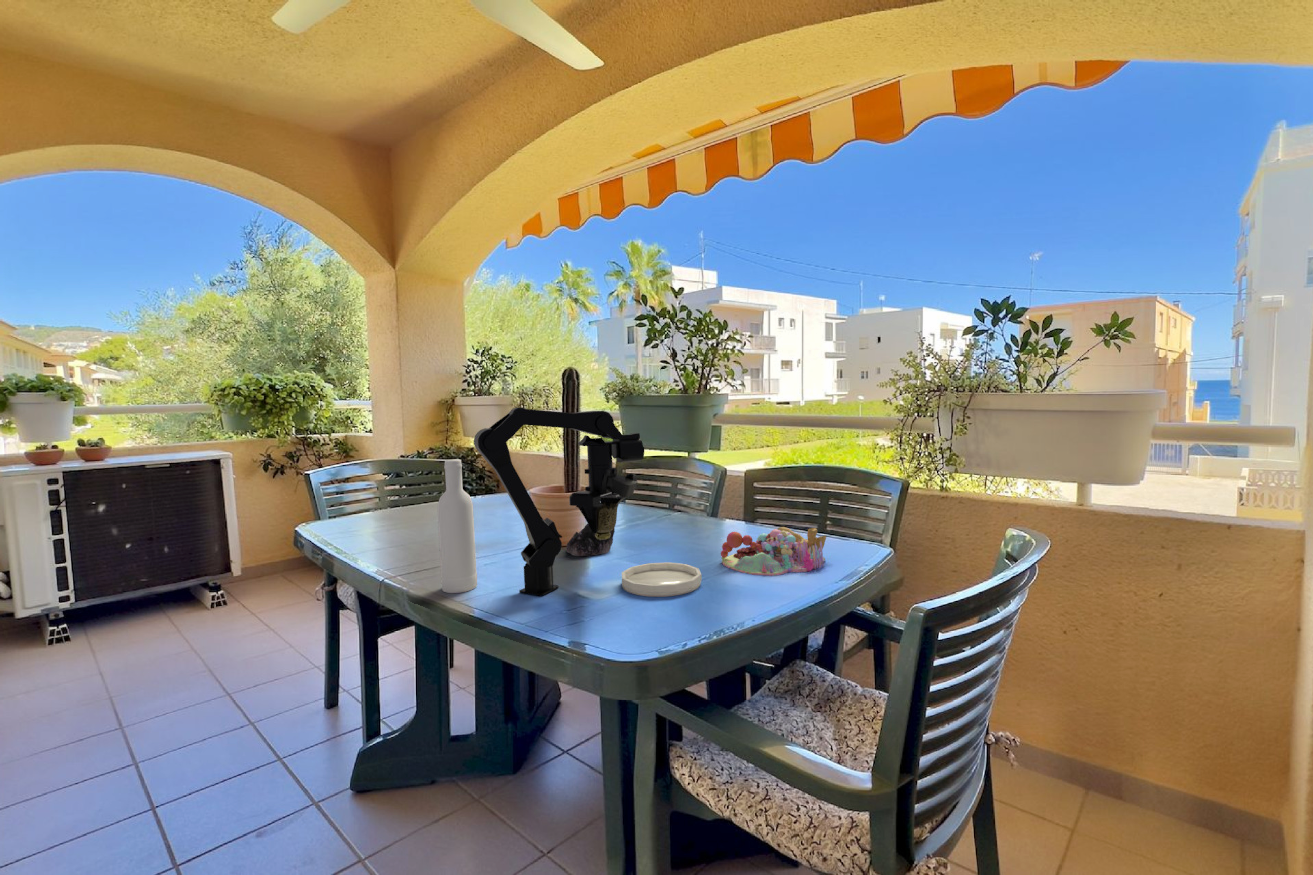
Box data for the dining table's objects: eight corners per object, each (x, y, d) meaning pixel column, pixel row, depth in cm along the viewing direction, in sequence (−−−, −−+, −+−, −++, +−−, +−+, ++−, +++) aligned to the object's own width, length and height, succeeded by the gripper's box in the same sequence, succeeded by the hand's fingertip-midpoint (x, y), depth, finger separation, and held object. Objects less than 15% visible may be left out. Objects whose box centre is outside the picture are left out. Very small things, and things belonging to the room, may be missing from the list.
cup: (624, 535, 144) (623, 502, 144) (609, 543, 138) (608, 508, 137) (597, 533, 147) (595, 501, 147) (581, 540, 141) (579, 506, 140)
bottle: (435, 589, 140) (428, 460, 138) (466, 580, 146) (459, 457, 144) (452, 595, 135) (445, 462, 133) (484, 587, 141) (477, 459, 139)
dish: (681, 600, 126) (681, 589, 126) (607, 591, 134) (607, 580, 134) (712, 577, 143) (711, 566, 142) (644, 569, 150) (644, 559, 150)
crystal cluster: (556, 557, 168) (555, 523, 167) (581, 542, 181) (580, 509, 179) (598, 565, 163) (598, 529, 161) (621, 548, 175) (621, 515, 174)
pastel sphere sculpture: (764, 547, 171) (763, 514, 170) (841, 560, 154) (841, 524, 154) (708, 566, 153) (707, 530, 152) (788, 584, 136) (787, 543, 136)
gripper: (610, 469, 129) (612, 541, 130) (648, 460, 146) (650, 524, 147) (566, 468, 134) (569, 537, 135) (608, 459, 151) (611, 521, 152)
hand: (602, 529), depth 142 cm, fingers closed on cup, 7 cm apart
